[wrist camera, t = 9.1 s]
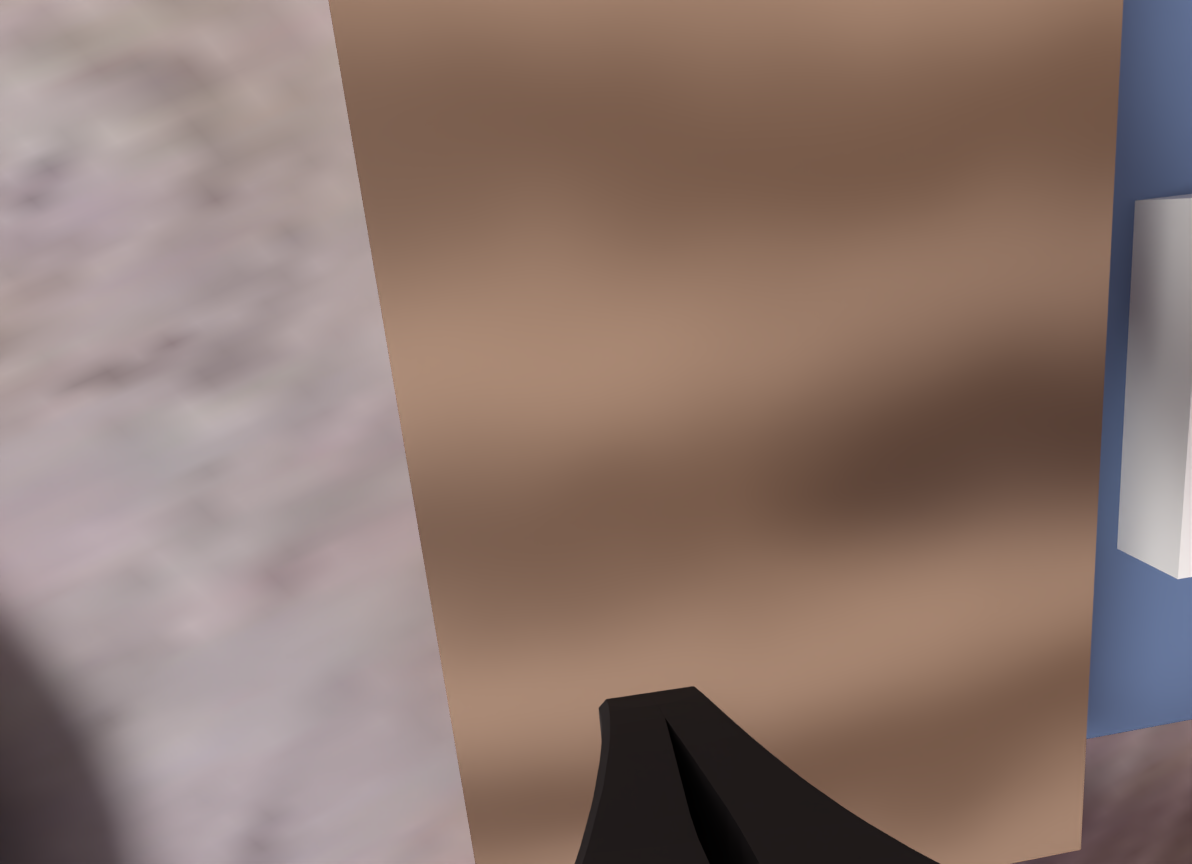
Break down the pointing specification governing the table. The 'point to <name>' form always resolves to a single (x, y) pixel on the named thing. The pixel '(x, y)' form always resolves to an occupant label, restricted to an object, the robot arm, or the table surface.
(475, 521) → the stand
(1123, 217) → the mat
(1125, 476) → the tile
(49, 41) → the table surface
